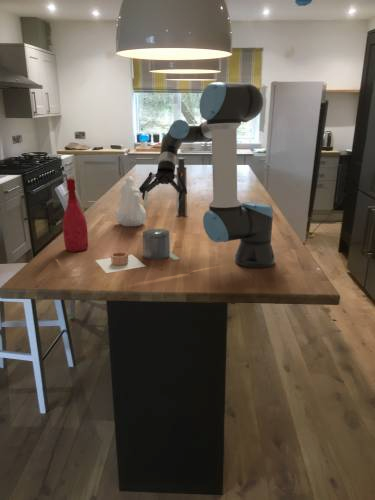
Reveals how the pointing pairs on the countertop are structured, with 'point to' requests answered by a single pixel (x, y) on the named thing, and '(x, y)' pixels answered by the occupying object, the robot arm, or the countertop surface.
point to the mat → (173, 256)
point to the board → (110, 267)
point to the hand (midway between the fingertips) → (160, 206)
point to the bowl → (119, 258)
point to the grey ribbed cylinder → (156, 244)
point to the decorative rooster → (130, 205)
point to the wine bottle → (74, 222)
